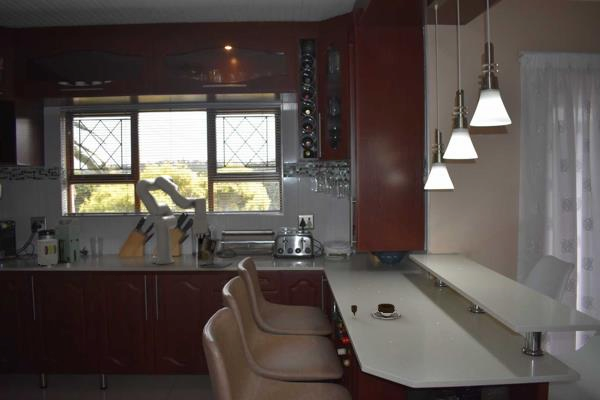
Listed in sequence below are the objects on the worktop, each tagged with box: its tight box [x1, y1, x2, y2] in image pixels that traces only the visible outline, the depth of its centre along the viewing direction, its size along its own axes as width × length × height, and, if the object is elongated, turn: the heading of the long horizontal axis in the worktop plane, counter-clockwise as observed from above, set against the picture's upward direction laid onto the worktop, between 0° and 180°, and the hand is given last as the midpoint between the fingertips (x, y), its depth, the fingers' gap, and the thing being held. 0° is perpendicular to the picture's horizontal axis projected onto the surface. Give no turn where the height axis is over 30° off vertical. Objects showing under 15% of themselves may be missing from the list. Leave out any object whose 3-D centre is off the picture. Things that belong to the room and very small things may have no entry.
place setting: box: [350, 303, 396, 315], centre depth 202 cm, size 18×20×6 cm
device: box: [54, 217, 81, 263], centre depth 335 cm, size 16×8×30 cm, turn 60°
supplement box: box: [36, 238, 58, 266], centre depth 323 cm, size 10×9×17 cm
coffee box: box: [197, 236, 220, 265], centre depth 316 cm, size 9×6×16 cm
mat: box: [203, 261, 233, 269], centre depth 314 cm, size 12×17×1 cm
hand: (201, 243), depth 317 cm, fingers closed
